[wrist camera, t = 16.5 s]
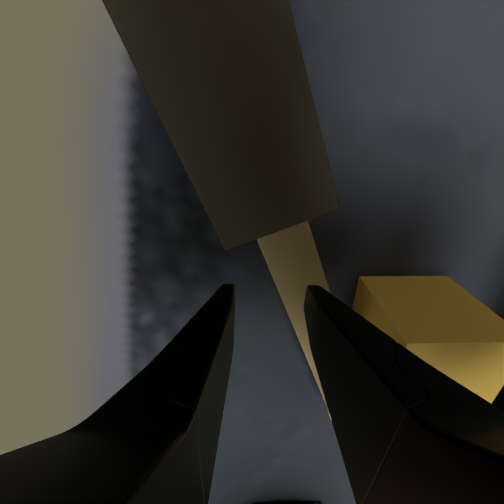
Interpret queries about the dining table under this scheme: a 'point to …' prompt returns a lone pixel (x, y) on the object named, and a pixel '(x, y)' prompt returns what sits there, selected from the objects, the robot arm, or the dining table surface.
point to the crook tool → (240, 126)
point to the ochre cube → (438, 326)
